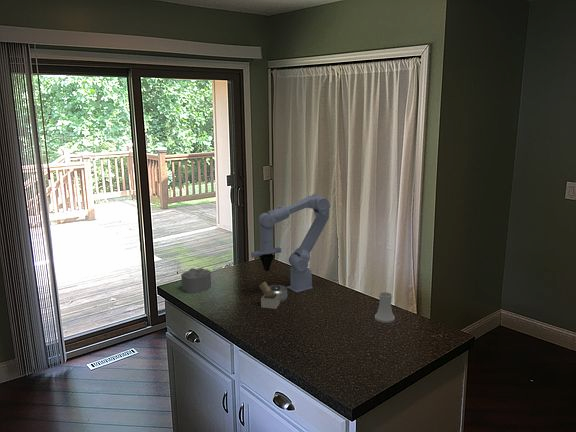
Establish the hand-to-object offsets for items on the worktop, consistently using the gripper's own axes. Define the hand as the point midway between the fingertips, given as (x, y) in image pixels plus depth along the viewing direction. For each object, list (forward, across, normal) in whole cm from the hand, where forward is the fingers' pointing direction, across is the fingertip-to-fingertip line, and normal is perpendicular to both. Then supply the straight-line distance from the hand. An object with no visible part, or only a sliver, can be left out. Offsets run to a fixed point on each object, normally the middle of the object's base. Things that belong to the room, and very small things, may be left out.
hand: (266, 270), depth 209 cm
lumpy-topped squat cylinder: (+11, +22, -24) cm, 35 cm away
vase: (+10, -22, +50) cm, 56 cm away
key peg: (+8, +6, +14) cm, 17 cm away
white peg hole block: (+10, +3, +10) cm, 15 cm away
